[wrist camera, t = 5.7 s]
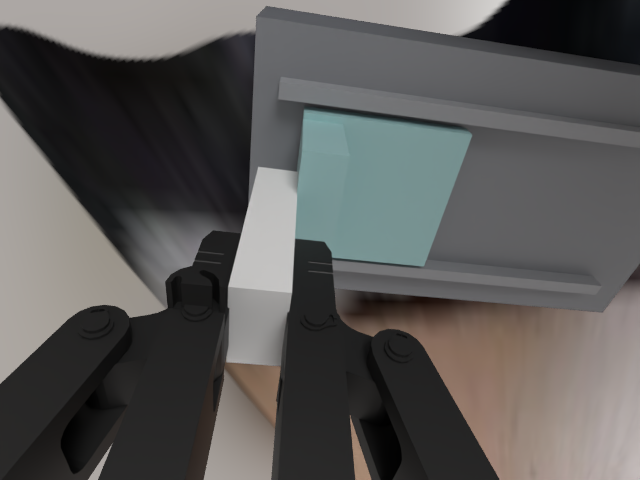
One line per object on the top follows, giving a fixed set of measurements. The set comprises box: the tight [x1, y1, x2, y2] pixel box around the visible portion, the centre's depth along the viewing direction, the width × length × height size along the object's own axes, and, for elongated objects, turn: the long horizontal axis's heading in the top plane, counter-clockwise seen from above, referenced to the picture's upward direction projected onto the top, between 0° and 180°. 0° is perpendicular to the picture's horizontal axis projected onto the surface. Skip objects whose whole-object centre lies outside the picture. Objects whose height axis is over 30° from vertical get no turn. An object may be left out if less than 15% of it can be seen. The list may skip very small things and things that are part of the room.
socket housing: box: [248, 6, 640, 312], centre depth 19 cm, size 12×20×5 cm, turn 82°
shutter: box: [295, 106, 472, 266], centre depth 16 cm, size 6×6×4 cm
